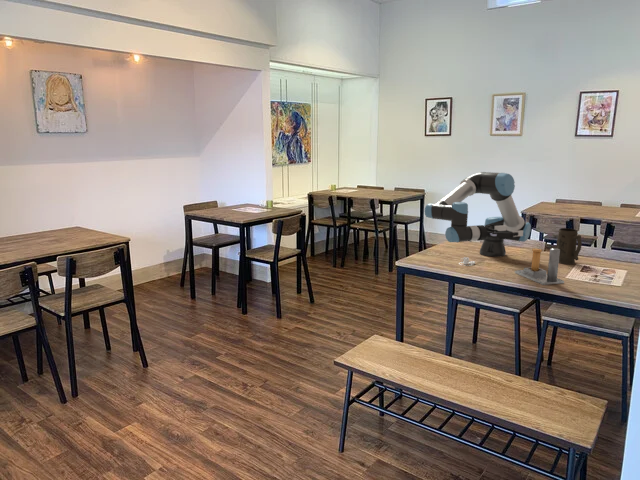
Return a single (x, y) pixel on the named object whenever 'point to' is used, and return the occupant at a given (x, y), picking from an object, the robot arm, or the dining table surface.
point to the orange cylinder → (536, 259)
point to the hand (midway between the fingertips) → (513, 230)
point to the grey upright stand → (541, 274)
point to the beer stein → (568, 245)
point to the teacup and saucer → (467, 261)
